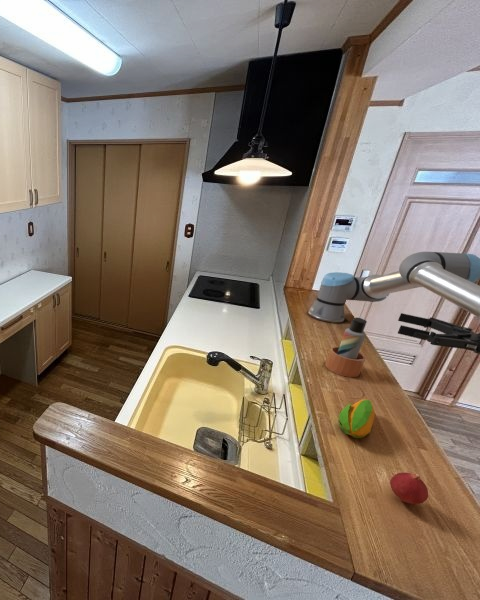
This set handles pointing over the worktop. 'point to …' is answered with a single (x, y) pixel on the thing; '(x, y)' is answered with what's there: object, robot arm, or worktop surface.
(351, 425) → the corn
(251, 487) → the worktop surface
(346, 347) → the lotion bottle
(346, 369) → the bowl
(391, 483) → the onion
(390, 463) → the worktop surface
